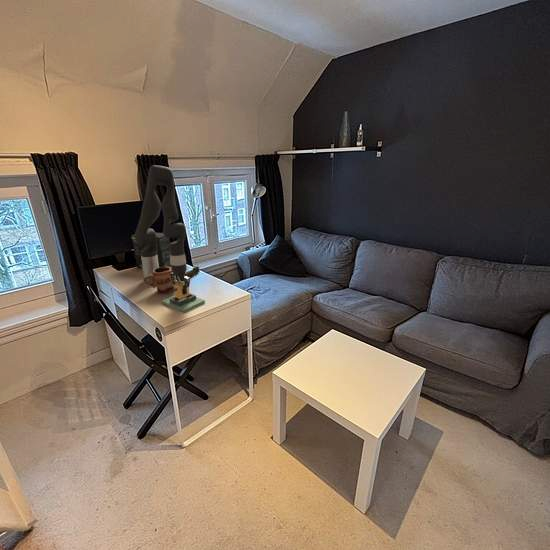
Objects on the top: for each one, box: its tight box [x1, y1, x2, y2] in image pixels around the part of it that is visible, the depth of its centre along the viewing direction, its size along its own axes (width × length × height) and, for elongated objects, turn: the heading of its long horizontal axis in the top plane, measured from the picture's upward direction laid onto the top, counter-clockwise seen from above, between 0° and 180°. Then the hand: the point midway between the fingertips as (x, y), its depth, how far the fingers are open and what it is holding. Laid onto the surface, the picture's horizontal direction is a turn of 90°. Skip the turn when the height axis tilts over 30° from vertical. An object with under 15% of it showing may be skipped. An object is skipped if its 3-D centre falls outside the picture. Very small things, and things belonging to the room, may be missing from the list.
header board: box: [161, 292, 206, 314], centre depth 159 cm, size 18×14×4 cm
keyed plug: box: [172, 283, 190, 299], centre depth 156 cm, size 4×9×7 cm, turn 146°
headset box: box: [130, 232, 171, 270], centre depth 208 cm, size 22×12×26 cm, turn 73°
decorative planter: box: [143, 267, 175, 295], centre depth 171 cm, size 20×12×14 cm, turn 131°
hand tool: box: [185, 266, 200, 278], centre depth 196 cm, size 19×4×5 cm, turn 156°
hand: (181, 293), depth 157 cm, fingers closed on keyed plug, 4 cm apart
